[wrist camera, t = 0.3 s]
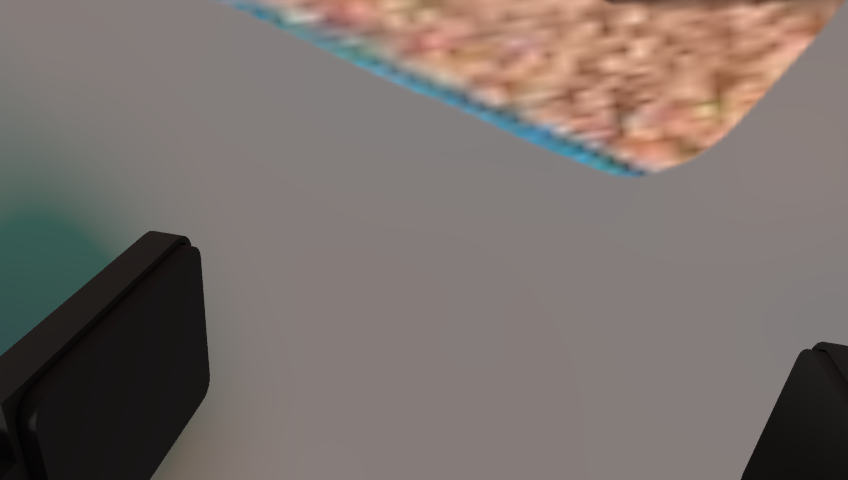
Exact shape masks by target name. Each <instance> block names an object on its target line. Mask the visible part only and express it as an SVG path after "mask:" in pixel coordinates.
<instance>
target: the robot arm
mask: <svg viewBox="0 0 848 480" xmlns="http://www.w3.org/2000/svg"><path fill="white" fill-rule="evenodd" d="M209 381H210V373H209V360H208V346H207V334H206V320H205V307H204V294H203V280H202V268H201V256H200V252H199V249H197V247H193V246H191V243H190V241H189V239H188V238H187V237H186V236H181V235H174V234H169V233H162V232H156V231H149V232H147V233H146V234H144V235H143V236H142V237H141V238H140V239H139V240H137V241H136V242H135V243H134V244H133V245H131V246H130V247H129V248H128V249H127V250H126V251H124V252H123V253H122V254H121V255H120V256H119V257H117V258H116V259H115V260H114V261H113V262H111V263H110V264H109V265H108V266H107V267H105V268H104V269H103V270H102V271H101V272H100V273H99V274H97V275H96V276H95V277H94V278H92V279H91V280H90V281H89V282H88V283H87V284H85V285H84V286H83V287H82V288H81V289H79V290H78V291H77V292H76V293H75V294H74V295H72V296H71V297H70V298H69V299H68V300H66V301H65V302H64V303H63V304H62V305H61V306H59V307H58V308H57V309H56V310H55V311H53V312H52V313H51V314H50V315H49V316H48V317H46V318H45V319H44V320H43V321H42V322H40V323H39V324H38V325H37V326H36V327H35V328H33V329H32V330H31V331H30V332H29V333H27V334H26V335H25V336H24V337H23V338H22V339H21V340H19V341H18V342H17V343H16V344H14V345H13V346H12V347H11V348H10V349H9V350H7V351H6V352H5V353H4V354H3V355H2V356H0V480H150V479H151V477H152V475H153V474H154V473H155V471H156V470H157V468H158V467H159V465H160V464H161V462H162V461H163V459H164V457H165V456H166V455H167V453H168V451H169V450H170V449H171V447H172V446H173V444H174V443H175V441H176V440H177V438H178V437H179V435H180V434H181V432H182V431H183V429H184V428H185V426H186V425H187V423H188V422H189V420H190V419H191V417H192V416H193V414H194V413H195V411H196V410H197V409H198V407H199V405H200V404H201V402H202V401H203V399H204V398H205V396H206V393H207V390H208V387H209ZM741 480H848V346H845V345H839V344H833V343H827V342H820V343H817V344H816V345H815V346H814V347H813V348H812V350H810V349H805V350H803V351H802V352H801V353H800V354H799V356H798V357H797V359H796V362H795V364H794V366H793V368H792V370H791V372H790V375H789V377H788V379H787V381H786V383H785V385H784V387H783V389H782V392H781V394H780V396H779V398H778V400H777V402H776V404H775V407H774V408H773V411H772V413H771V415H770V417H769V419H768V422H767V423H766V426H765V428H764V430H763V432H762V434H761V436H760V438H759V441H758V443H757V445H756V447H755V449H754V451H753V454H752V456H751V458H750V460H749V462H748V464H747V466H746V468H745V471H744V473H743V475H742V478H741Z"/></svg>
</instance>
